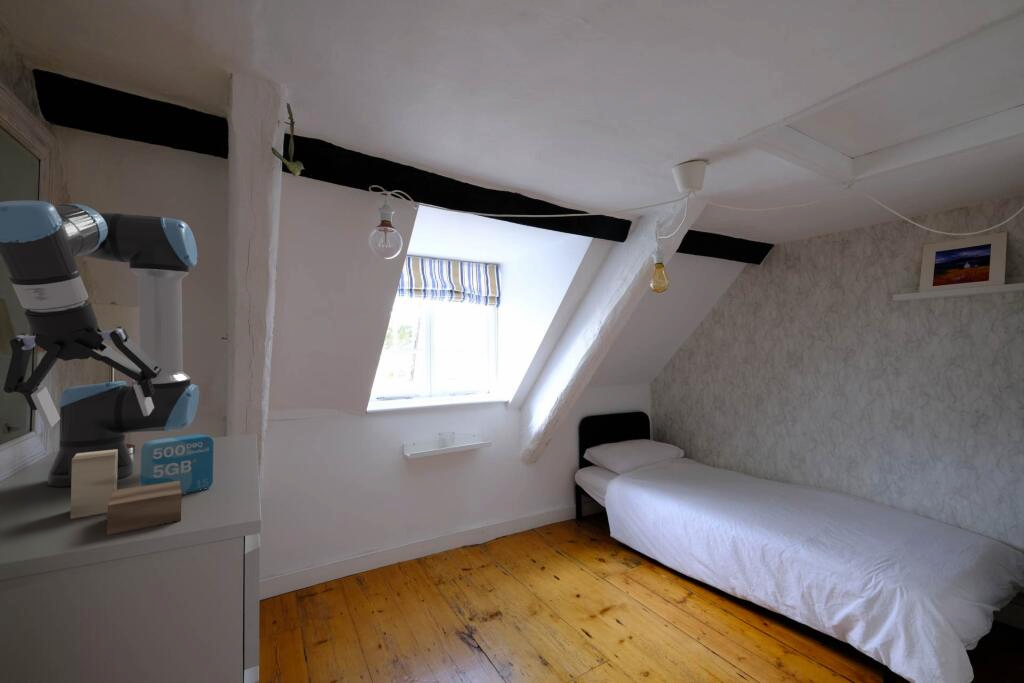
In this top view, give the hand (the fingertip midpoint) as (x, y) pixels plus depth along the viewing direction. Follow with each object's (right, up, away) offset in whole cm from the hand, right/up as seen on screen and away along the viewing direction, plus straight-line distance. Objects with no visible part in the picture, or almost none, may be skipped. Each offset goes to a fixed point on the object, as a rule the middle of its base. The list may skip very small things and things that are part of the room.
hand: (102, 417), depth 77 cm
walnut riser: (+5, -19, +4) cm, 20 cm away
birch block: (-9, -20, +8) cm, 23 cm away
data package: (-1, -20, +18) cm, 27 cm away
